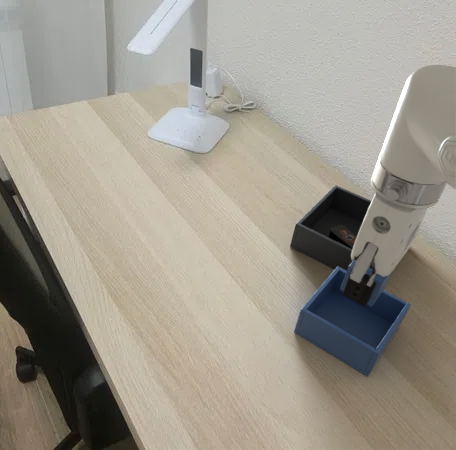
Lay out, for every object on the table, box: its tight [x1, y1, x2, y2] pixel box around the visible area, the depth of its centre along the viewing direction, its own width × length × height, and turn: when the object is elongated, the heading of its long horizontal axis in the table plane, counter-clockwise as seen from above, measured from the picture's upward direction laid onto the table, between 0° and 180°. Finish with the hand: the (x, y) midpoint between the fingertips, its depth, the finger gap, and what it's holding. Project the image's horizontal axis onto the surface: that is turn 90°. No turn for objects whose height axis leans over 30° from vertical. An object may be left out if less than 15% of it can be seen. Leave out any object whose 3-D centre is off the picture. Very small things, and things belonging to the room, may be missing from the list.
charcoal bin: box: [289, 184, 372, 271], centre depth 91 cm, size 14×14×5 cm
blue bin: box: [293, 266, 412, 377], centre depth 78 cm, size 11×11×5 cm
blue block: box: [340, 259, 394, 307], centre depth 72 cm, size 4×4×4 cm
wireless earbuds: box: [328, 225, 357, 249], centre depth 90 cm, size 5×7×3 cm, turn 31°
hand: (363, 286), depth 74 cm, fingers closed on blue block, 4 cm apart
